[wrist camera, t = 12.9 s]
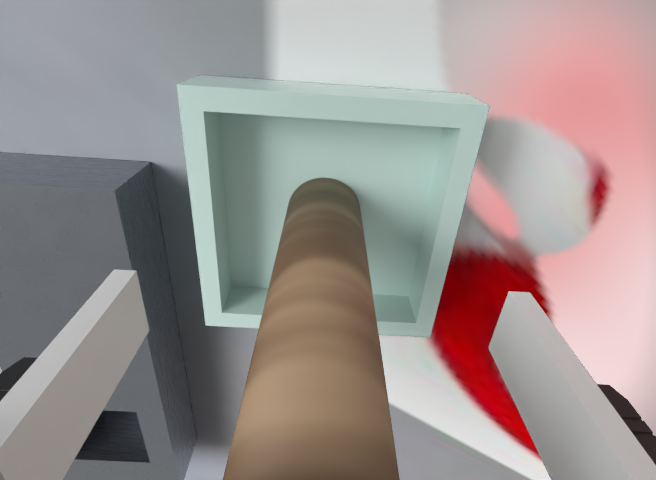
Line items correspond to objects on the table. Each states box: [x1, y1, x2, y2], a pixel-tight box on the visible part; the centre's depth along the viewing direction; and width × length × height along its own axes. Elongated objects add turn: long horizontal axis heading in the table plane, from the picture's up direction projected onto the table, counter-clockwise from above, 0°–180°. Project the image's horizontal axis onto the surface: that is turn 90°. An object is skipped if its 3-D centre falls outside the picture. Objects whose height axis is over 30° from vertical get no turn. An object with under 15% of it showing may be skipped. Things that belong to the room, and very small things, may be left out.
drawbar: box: [0, 152, 197, 480], centre depth 25 cm, size 24×9×4 cm, turn 176°
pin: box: [223, 178, 399, 480], centre depth 14 cm, size 5×5×18 cm
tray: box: [177, 75, 490, 337], centre depth 21 cm, size 13×13×3 cm
